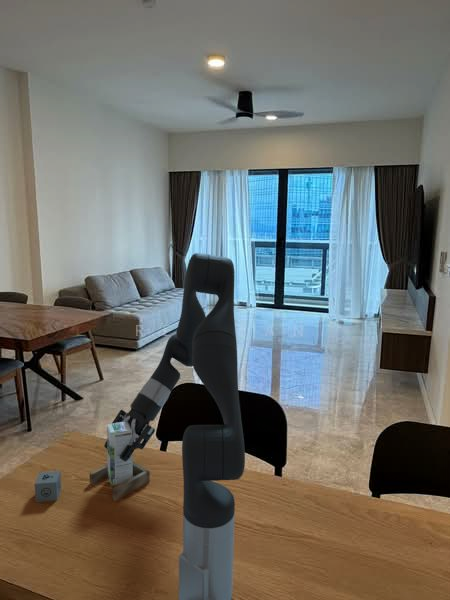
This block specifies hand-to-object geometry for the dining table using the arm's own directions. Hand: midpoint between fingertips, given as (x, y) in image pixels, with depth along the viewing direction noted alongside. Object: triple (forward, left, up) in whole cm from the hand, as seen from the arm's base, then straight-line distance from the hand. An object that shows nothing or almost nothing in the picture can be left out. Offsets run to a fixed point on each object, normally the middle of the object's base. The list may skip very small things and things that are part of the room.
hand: (114, 454), depth 111 cm
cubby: (+1, 0, -9) cm, 9 cm away
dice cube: (-14, +9, -9) cm, 19 cm away
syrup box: (+2, 0, -8) cm, 8 cm away
